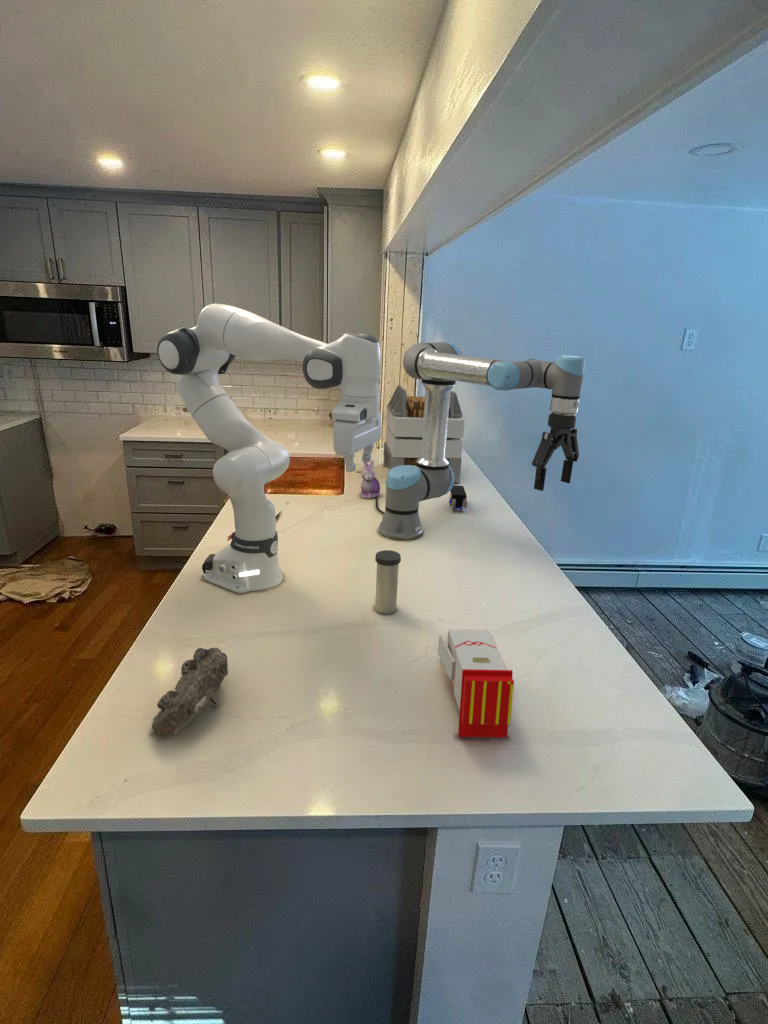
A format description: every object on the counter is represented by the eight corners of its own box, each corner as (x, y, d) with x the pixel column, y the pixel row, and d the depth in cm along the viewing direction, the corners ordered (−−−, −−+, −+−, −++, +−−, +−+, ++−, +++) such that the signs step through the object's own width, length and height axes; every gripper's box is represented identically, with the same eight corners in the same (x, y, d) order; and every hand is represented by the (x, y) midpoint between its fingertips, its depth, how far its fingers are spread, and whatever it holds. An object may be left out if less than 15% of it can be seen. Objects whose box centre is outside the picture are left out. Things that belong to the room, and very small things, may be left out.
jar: (391, 615, 146) (393, 563, 141) (371, 610, 149) (373, 558, 143) (399, 606, 151) (402, 555, 146) (380, 601, 153) (382, 550, 148)
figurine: (365, 500, 232) (366, 464, 227) (354, 493, 241) (355, 458, 236) (385, 497, 237) (387, 463, 231) (374, 490, 245) (375, 457, 240)
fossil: (179, 649, 121) (229, 617, 116) (211, 678, 124) (260, 649, 119) (128, 729, 101) (185, 695, 96) (167, 762, 104) (224, 731, 99)
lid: (394, 568, 141) (394, 562, 141) (370, 562, 144) (371, 557, 143) (404, 558, 147) (404, 553, 146) (381, 553, 149) (381, 548, 149)
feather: (288, 505, 226) (290, 501, 226) (271, 529, 199) (273, 524, 199) (284, 503, 226) (287, 499, 225) (266, 526, 199) (269, 522, 199)
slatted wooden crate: (382, 463, 289) (386, 382, 275) (445, 464, 293) (451, 384, 279) (390, 482, 257) (394, 392, 243) (460, 483, 261) (468, 394, 247)
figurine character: (467, 516, 223) (461, 500, 237) (469, 499, 220) (463, 483, 233) (450, 516, 223) (446, 499, 236) (452, 498, 220) (447, 483, 233)
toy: (488, 613, 130) (523, 677, 101) (484, 667, 133) (517, 744, 104) (435, 612, 130) (455, 676, 101) (432, 666, 133) (451, 743, 103)
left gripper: (364, 400, 139) (363, 455, 144) (328, 412, 121) (327, 475, 125) (388, 402, 137) (386, 458, 142) (355, 415, 119) (354, 478, 123)
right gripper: (548, 419, 148) (537, 496, 155) (598, 411, 163) (586, 482, 171) (525, 414, 153) (515, 489, 160) (575, 407, 169) (564, 476, 176)
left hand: (358, 466), depth 133 cm, fingers open, 8 cm apart
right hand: (552, 485), depth 166 cm, fingers open, 13 cm apart
